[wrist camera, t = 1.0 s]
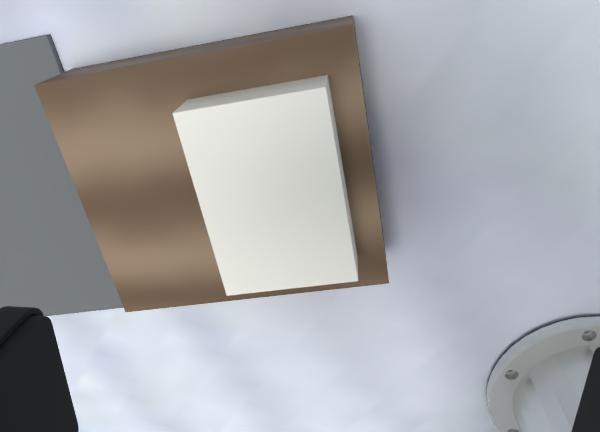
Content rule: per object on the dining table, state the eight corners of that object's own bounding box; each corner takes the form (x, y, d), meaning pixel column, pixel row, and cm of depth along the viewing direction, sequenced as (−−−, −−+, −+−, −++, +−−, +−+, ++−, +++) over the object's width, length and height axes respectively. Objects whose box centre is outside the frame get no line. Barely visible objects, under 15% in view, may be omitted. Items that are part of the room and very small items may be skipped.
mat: (150, 301, 37) (148, 304, 36) (-28, 321, 39) (-31, 324, 39) (49, 34, 29) (46, 35, 29) (-164, 77, 31) (-170, 79, 31)
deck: (384, 247, 33) (389, 283, 30) (147, 276, 36) (125, 312, 32) (352, 15, 27) (353, 25, 24) (71, 69, 30) (34, 85, 26)
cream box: (357, 256, 29) (358, 281, 27) (235, 270, 30) (226, 295, 28) (327, 75, 25) (325, 86, 23) (187, 99, 26) (172, 113, 24)
